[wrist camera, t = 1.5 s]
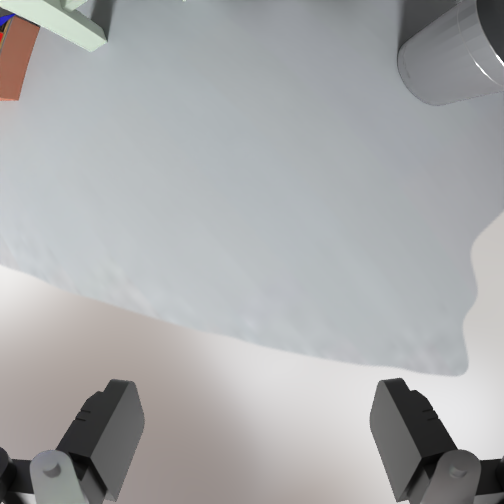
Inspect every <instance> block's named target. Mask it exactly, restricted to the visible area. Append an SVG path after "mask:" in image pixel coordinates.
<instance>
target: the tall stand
mask: <svg viewBox="0 0 504 504" xmlns="http://www.w3.org/2000/svg"><path fill="white" fill-rule="evenodd" d="M86 1H88V0H0V7H2V8H4V9H6V10H8V11H10V12H13V13H15V14H17V15H19V16H21V17H23V18H25V19H28V20H30V21H32V22H34V23H36V24H38V25H40V26H42V27H44V28H46V29H48V30H50V31H52V32H54V33H56V34H58V35H60V36H61V37H63V38H65V39H67V40H69V41H71V42H73V43H75V44H77V45H78V46H80V47H82V48H84V49H86V50H88V51H89V52H93V51H94V50H96V49H97V48H99V47H100V46H102V45H103V44H105V43H107V40H106V37H105V34H104V32H103V29H102V28H101V27H100V26H98V25H97V24H95V23H94V22H93V21H91V20H90V19H89V18H87V17H86V16H84V15H83V14H82V13H80V12H79V11H77V10H76V8H77V7H79V6H80V5H82V4H83V3H85V2H86ZM182 1H183V2H184V1H186V0H182Z"/></svg>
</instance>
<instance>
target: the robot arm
mask: <svg viewBox="0 0 504 504" xmlns="http://www.w3.org/2000/svg"><path fill="white" fill-rule="evenodd" d="M398 68H399V73H400V75H401V78H402V80H403V82H404V83H405V85H406V86H407V88H408V89H409V90H410V91H411V92H412V94H414V95H415V96H416V97H417V98H418V99H420V100H422V101H423V102H425V103H428V104H431V105H437V106H439V105H445V104H449V103H453V102H458V101H462V100H466V99H471V98H475V97H479V96H484V95H488V94H493V93H498V92H502V91H504V0H463V1H461V2H460V3H458V4H457V5H456V6H454V7H453V8H451V9H450V10H448V11H447V12H446V13H444V14H443V15H441V16H440V17H439V18H437V19H436V20H435V21H433V22H432V23H430V24H429V25H428V26H426V27H425V28H424V29H422V30H421V31H420V32H418V33H417V34H415V35H414V36H413V37H411V38H410V39H409V40H408V41H406V42H405V43H404V44H403V45H402V46H401V48H400V51H399V54H398ZM370 428H371V432H372V434H373V437H374V440H375V443H376V445H377V448H378V451H379V454H380V456H381V459H382V462H383V465H384V467H385V470H386V473H387V475H388V479H389V481H390V484H391V487H392V490H393V493H394V496H395V499H396V502H401V501H405V500H409V502H410V504H504V456H503V458H502V459H494V460H479V459H478V458H477V457H476V456H475V455H474V454H472V453H471V452H468V451H466V450H458V449H457V447H456V445H455V444H454V442H453V440H452V438H451V437H450V435H449V433H448V432H447V430H446V429H445V427H444V425H443V423H442V422H441V420H440V419H438V415H437V414H436V412H435V411H433V407H432V406H431V404H430V402H429V401H428V399H427V398H426V397H425V396H423V395H422V394H421V393H419V392H418V391H417V390H413V391H410V390H409V388H408V386H407V385H406V383H405V381H404V380H403V379H402V378H396V379H388V380H381V381H379V383H378V385H377V389H376V393H375V397H374V401H373V405H372V409H371V413H370ZM143 429H144V413H143V410H142V406H141V403H140V399H139V396H138V392H137V388H136V385H135V383H134V382H132V381H124V380H116V379H112V380H110V382H109V383H108V385H107V387H106V388H105V390H104V392H99V391H98V392H96V393H95V394H94V395H92V396H91V397H90V398H88V399H87V400H86V402H85V403H84V405H83V407H82V408H81V411H80V412H79V413H78V414H77V416H76V418H75V420H74V421H73V422H72V424H71V425H70V427H69V429H68V430H67V432H66V433H65V435H64V437H63V438H62V440H61V441H60V443H59V445H58V446H57V448H56V449H55V450H47V451H43V452H41V453H39V454H38V455H36V456H35V457H34V458H33V460H31V461H30V460H17V459H11V458H10V457H9V455H8V454H7V452H6V451H5V450H4V449H3V448H1V447H0V504H1V502H3V503H4V504H102V503H103V500H104V499H107V500H111V501H115V502H116V501H117V498H118V495H119V492H120V490H121V487H122V484H123V482H124V479H125V476H126V474H127V471H128V469H129V466H130V463H131V460H132V458H133V455H134V453H135V450H136V448H137V445H138V443H139V440H140V437H141V435H142V432H143Z"/></svg>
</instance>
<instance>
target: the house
mask: <svg viewBox="0 0 504 504" xmlns="http://www.w3.org/2000/svg"><path fill="white" fill-rule="evenodd" d="M14 15H15V14H11V15H7V16H3V17H0V45H1V46H0V101H8V100H19V96H20V92H21V88H22V84H23V80H24V77H25V73H26V69H27V66H28V62H29V59H30V56H31V53H32V50H33V47H34V44H35V41H36V38H37V35H38V32H39V29H40V27H37V26H35V25H33V24H31V23H29V22H27V21H25V20H23V19H20V18H18V17H16V16H14ZM3 36H4V37H3ZM2 39H3V40H2ZM1 42H2V43H1Z"/></svg>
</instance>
